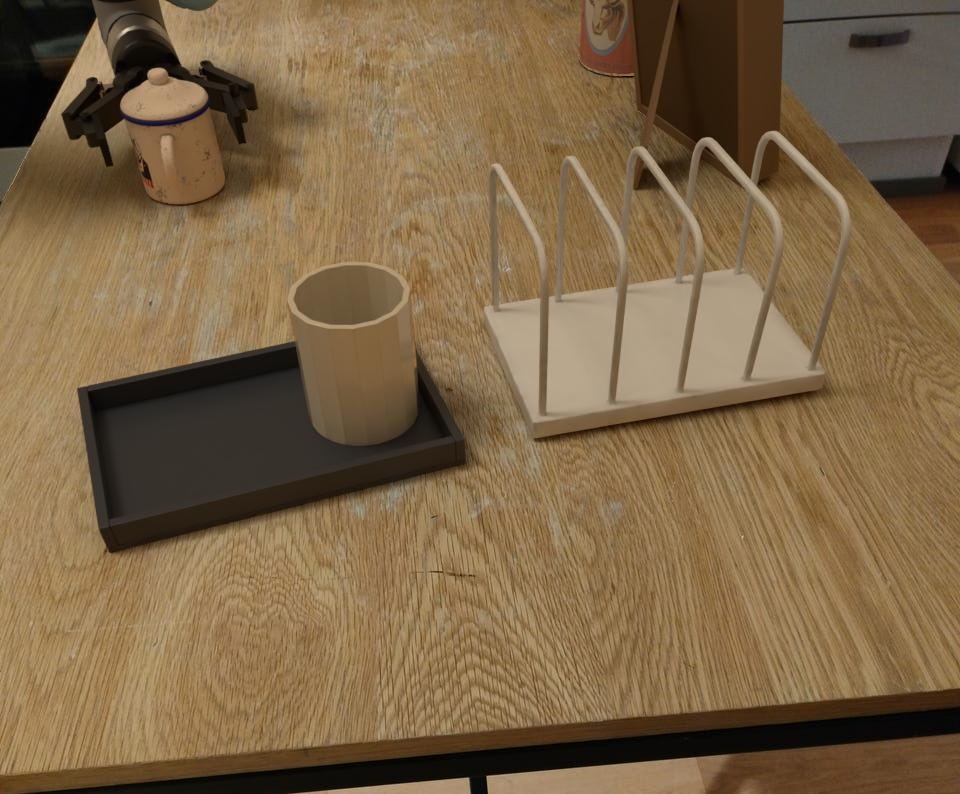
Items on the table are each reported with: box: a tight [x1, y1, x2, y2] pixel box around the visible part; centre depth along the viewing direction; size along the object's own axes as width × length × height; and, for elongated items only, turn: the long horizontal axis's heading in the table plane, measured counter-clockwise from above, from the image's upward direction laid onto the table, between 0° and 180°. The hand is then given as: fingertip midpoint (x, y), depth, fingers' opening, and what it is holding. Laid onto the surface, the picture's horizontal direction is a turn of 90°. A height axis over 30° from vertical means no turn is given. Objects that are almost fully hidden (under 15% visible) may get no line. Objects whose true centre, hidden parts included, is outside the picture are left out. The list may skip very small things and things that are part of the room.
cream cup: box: [286, 261, 420, 446], centre depth 75 cm, size 9×9×11 cm
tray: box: [76, 340, 467, 553], centre depth 77 cm, size 28×18×2 cm, turn 110°
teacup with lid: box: [120, 68, 226, 205], centre depth 100 cm, size 12×9×12 cm
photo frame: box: [627, 0, 785, 189], centre depth 98 cm, size 15×22×25 cm
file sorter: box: [483, 131, 852, 439], centre depth 78 cm, size 25×17×16 cm
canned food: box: [578, 0, 634, 74], centre depth 120 cm, size 11×11×12 cm
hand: (173, 141), depth 98 cm, fingers open, 13 cm apart
